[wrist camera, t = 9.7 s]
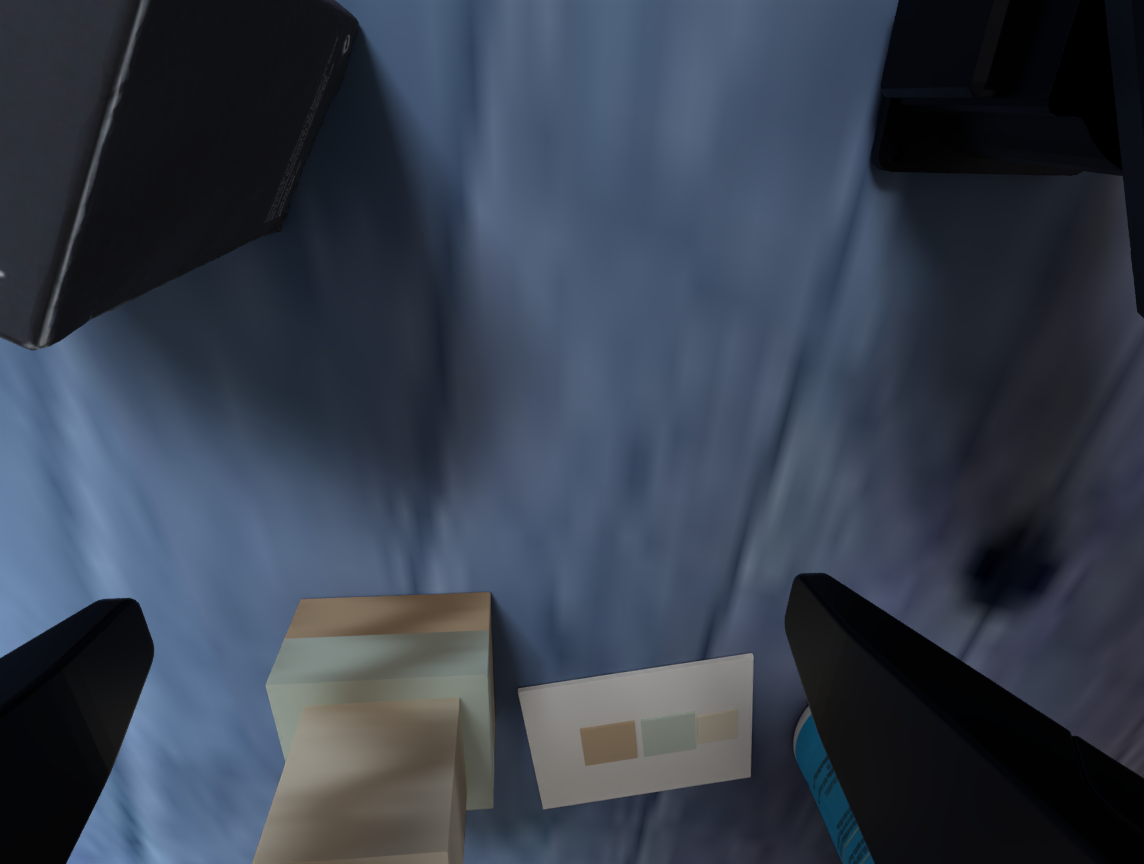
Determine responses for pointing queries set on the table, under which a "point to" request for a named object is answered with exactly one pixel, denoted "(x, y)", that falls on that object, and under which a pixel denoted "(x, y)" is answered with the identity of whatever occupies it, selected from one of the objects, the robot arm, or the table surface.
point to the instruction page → (640, 730)
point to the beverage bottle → (828, 793)
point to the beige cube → (371, 787)
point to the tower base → (394, 665)
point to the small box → (148, 142)
